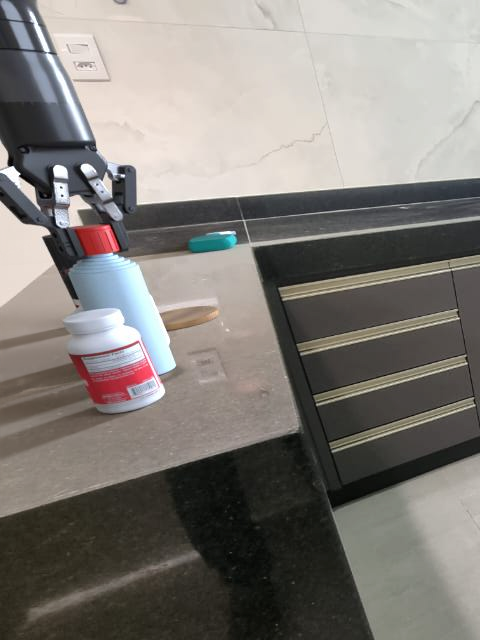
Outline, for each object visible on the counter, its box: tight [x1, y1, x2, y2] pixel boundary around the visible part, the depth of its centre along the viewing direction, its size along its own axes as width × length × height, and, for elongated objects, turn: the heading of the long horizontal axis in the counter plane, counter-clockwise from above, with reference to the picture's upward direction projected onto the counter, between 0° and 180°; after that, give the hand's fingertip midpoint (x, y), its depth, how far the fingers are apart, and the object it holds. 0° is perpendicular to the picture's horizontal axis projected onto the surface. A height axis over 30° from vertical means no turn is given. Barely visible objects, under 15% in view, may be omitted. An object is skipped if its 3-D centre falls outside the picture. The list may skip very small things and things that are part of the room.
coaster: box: [159, 305, 220, 331], centre depth 90 cm, size 10×10×1 cm
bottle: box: [68, 252, 177, 376], centre depth 67 cm, size 6×6×18 cm
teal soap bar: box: [187, 230, 238, 254], centre depth 155 cm, size 3×11×24 cm
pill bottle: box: [62, 308, 166, 414], centre depth 60 cm, size 6×6×11 cm
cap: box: [69, 223, 120, 256], centre depth 64 cm, size 4×4×3 cm
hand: (99, 254), depth 65 cm, fingers closed on cap, 4 cm apart
